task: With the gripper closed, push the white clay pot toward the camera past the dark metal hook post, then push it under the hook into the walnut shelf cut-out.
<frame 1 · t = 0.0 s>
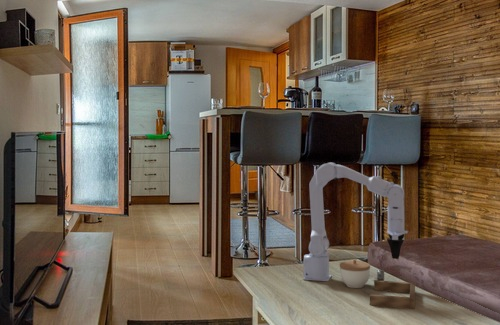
hand: (396, 256, 180), 10 cm above the table, fingers open, 7 cm apart
lidded jar: (355, 286, 179), on the table
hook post: (380, 287, 176), on the table
walnut shelf: (390, 297, 164), on the table
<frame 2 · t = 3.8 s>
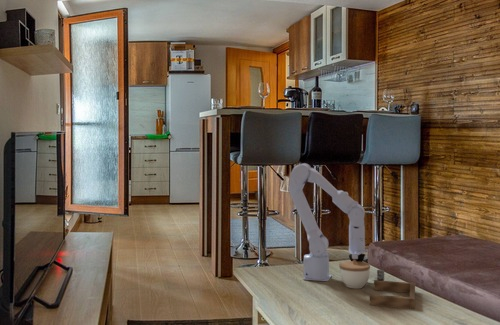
hand: (357, 273, 185), 2 cm above the table, fingers closed
lidded jar: (354, 286, 178), on the table, touching gripper
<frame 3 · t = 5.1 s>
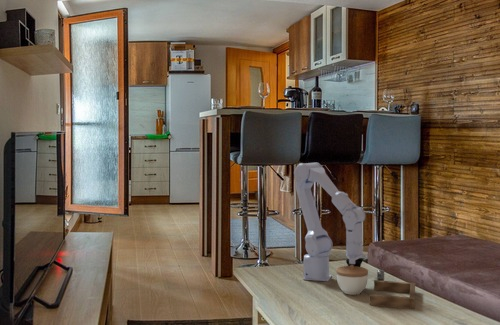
hand: (354, 279, 178), 2 cm above the table, fingers closed
lidded jar: (352, 292, 171), on the table, touching gripper
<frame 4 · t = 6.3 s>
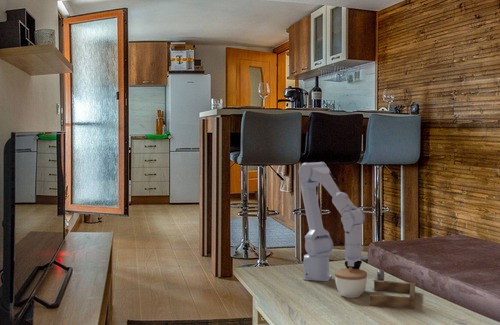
hand: (353, 281, 175), 2 cm above the table, fingers closed
lidded jar: (350, 295, 168), on the table, touching gripper
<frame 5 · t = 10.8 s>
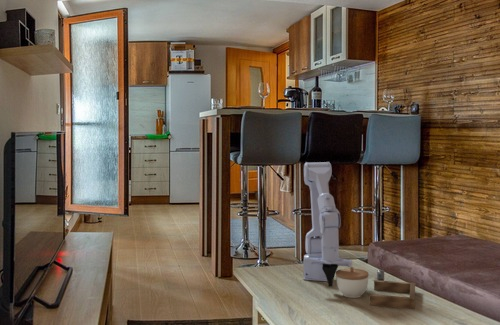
hand: (330, 286, 171), 2 cm above the table, fingers closed
lidded jar: (352, 295, 168), on the table, touching gripper
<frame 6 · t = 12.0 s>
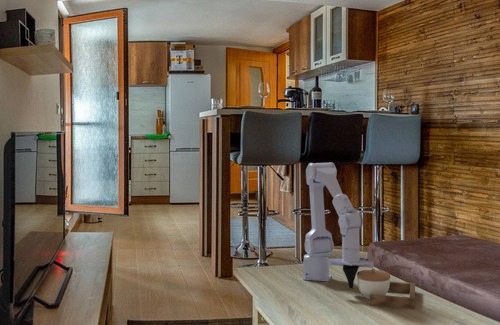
hand: (351, 287, 168), 2 cm above the table, fingers closed
lidded jar: (373, 297, 166), on the table, touching gripper
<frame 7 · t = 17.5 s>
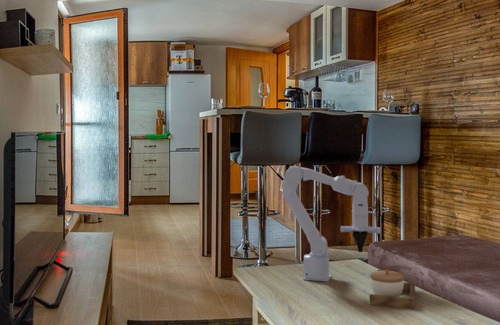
hand: (360, 251, 187), 10 cm above the table, fingers closed
lidded jar: (387, 298, 164), on the table
at the end: lidded jar inside the target area (1.3 cm from its centre), on the table; lidded jar tilted 0° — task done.
